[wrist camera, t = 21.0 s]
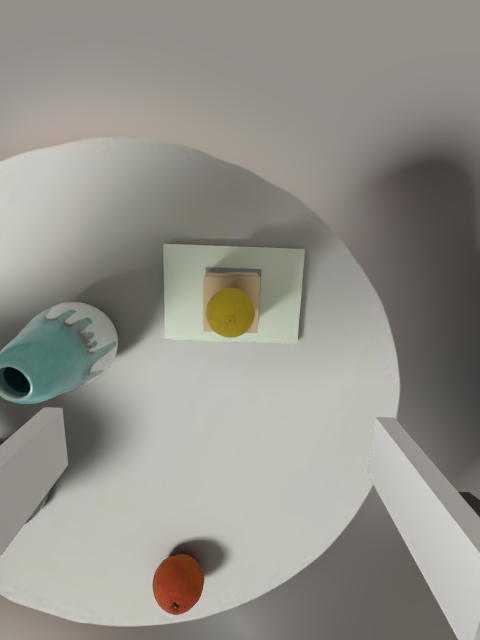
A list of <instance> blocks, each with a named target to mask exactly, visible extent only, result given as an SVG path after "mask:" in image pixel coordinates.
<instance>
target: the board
mask: <svg viewBox="0 0 480 640" xmlns="http://www.w3.org/2000/svg"><path fill="white" fill-rule="evenodd" d="M304 256H305V249H294V248H267V247H240V246H214V245H187V244H163V267H164V320H165V339H176V340H206V341H236V342H266V343H295V344H297V341H298V329H299V316H300V304H301V292H302V280H303V268H304ZM208 271H222V272H251V273H258V275H259V277H260V299H259V319H258V333H244V334H242V335H240V336H238V337H233V338H228V337H223V336H220V335H219V334H217V333H215V332H203V277H204V276H205V274H206V273H207V272H208Z"/></svg>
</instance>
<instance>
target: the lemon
mask: <svg viewBox="0 0 480 640" xmlns="http://www.w3.org/2000/svg"><path fill="white" fill-rule="evenodd" d="M206 317H207V321H208V323H209V325H210V327H211V328H212V329H213V331H214V332H215V333H217V334H219V335H220V336H223V337H228V338H233V337H238V336H240V335H242V334H244V333H245V332H246V331H248V329H249V328H250V327H251V325H252V323H253V321H254V317H255V307H254V304H253V302H252V300H251V298H250V297H249V296H248V295H247V294H246V293H245V292H244V291H242V290H240V289H236V288H225V289H221V290H220V291H218V292H216V293H215V294H214V295H213V296H212V297H211V299H210V300H209V302H208V305H207V308H206Z"/></svg>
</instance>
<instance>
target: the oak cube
mask: <svg viewBox="0 0 480 640" xmlns="http://www.w3.org/2000/svg"><path fill="white" fill-rule="evenodd" d="M225 288H236V289H240V290H242V291H244V292H245V293H246V294H247V295H248V296H249V297H250V298H251V300H252V302H253V304H254V307H255V317H254V321H253V323H252V325H251V327H250V328H249V329H248V331H246V332H245V333H258V319H259V299H260V277H259V275H258V273H251V272H222V271H208V272H207V273H206V274H205V276H204V277H203V332H214V331H213V329H212V328H211V327H210V325H209V323H208V321H207V317H206V308H207V305H208V302H209V300H210V299H211V297H212V296H213V295H214V294H215V293H216V292H218V291H220V290H221V289H225Z"/></svg>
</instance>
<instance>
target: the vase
mask: <svg viewBox="0 0 480 640" xmlns="http://www.w3.org/2000/svg"><path fill="white" fill-rule="evenodd" d="M117 349H118V335H117V331H116V329H115V326H114V324H113V323H112V321H111V320H110V318H109V317H108V316H107V315H106V314H105V313H104V312H102V311H101V310H99V309H98V308H96V307H94V306H92V305H89V304H85V303H80V302H66V303H61V304H57V305H54V306H51V307H49V308H47V309H46V310H44V311H42V312H41V313H39V314H38V315H37V316H35V317H34V318H33V319H32V320H31V321H29V322H28V323H27V324H26V325H25V326H24V328H23V329H22V330H21V331H20V332H19V333H18V335H17V336H16V337H15V338H14V339H13V340H11V341H10V342H9V343H8V344H7V345H6V346H5V347H4V348H3V349H2V350H1V351H0V396H1V397H2V398H4V399H6V400H8V401H11V402H14V403H19V404H34V403H40V402H43V401H46V400H49V399H51V398H54V397H56V396H58V395H60V394H63V393H66V392H69V391H72V390H75V389H77V388H80V387H82V386H84V385H86V384H88V383H90V382H92V381H93V380H95V379H97V378H98V377H99V376H101V375H102V374H103V373H104V372H105V371H106V370H107V369H108V368H109V367H110V365H111V364H112V362H113V360H114V359H115V356H116V353H117Z"/></svg>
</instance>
